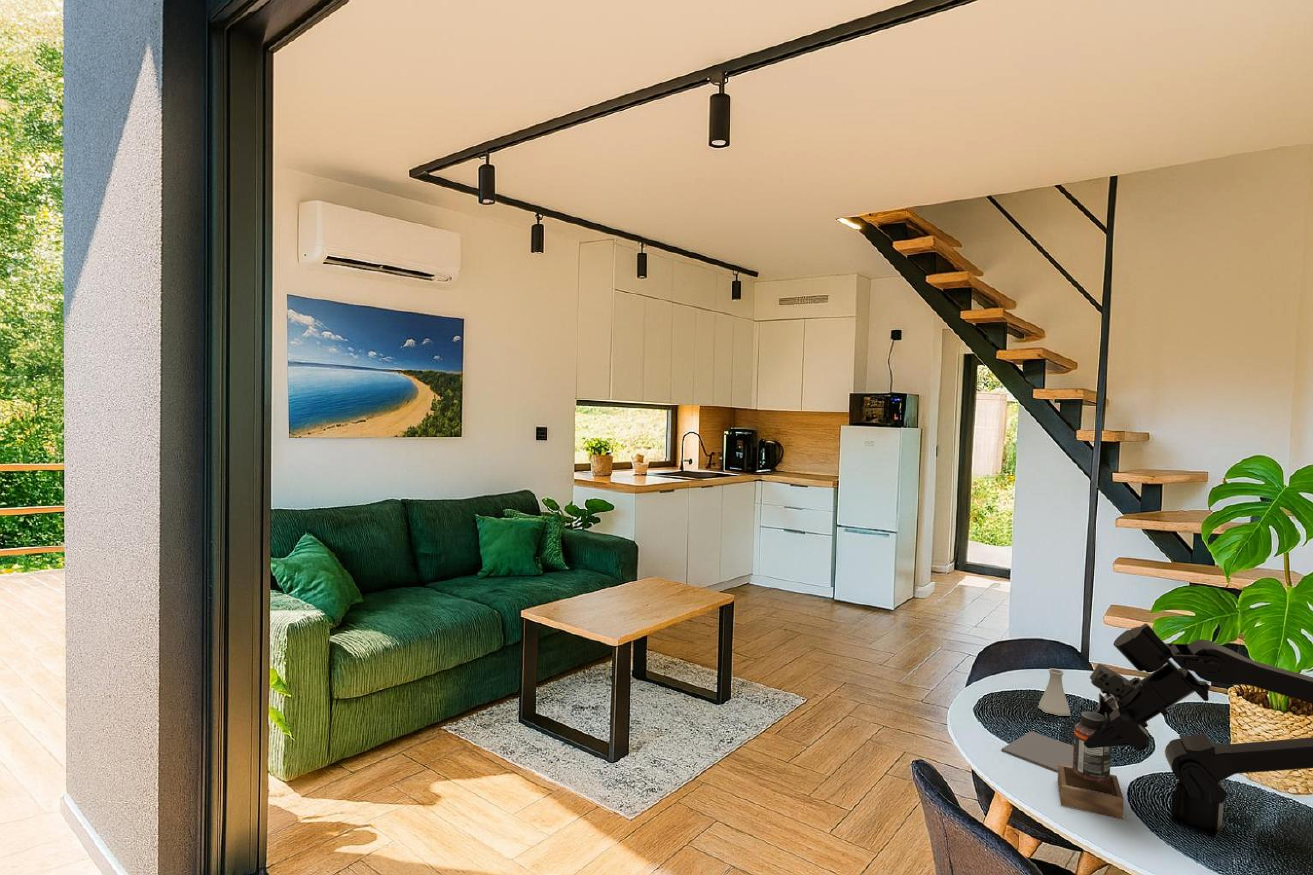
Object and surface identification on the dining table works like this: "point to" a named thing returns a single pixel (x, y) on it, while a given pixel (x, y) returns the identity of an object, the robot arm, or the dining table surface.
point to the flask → (1054, 696)
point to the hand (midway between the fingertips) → (1083, 738)
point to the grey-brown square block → (1041, 751)
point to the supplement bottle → (1090, 750)
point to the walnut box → (1090, 793)
